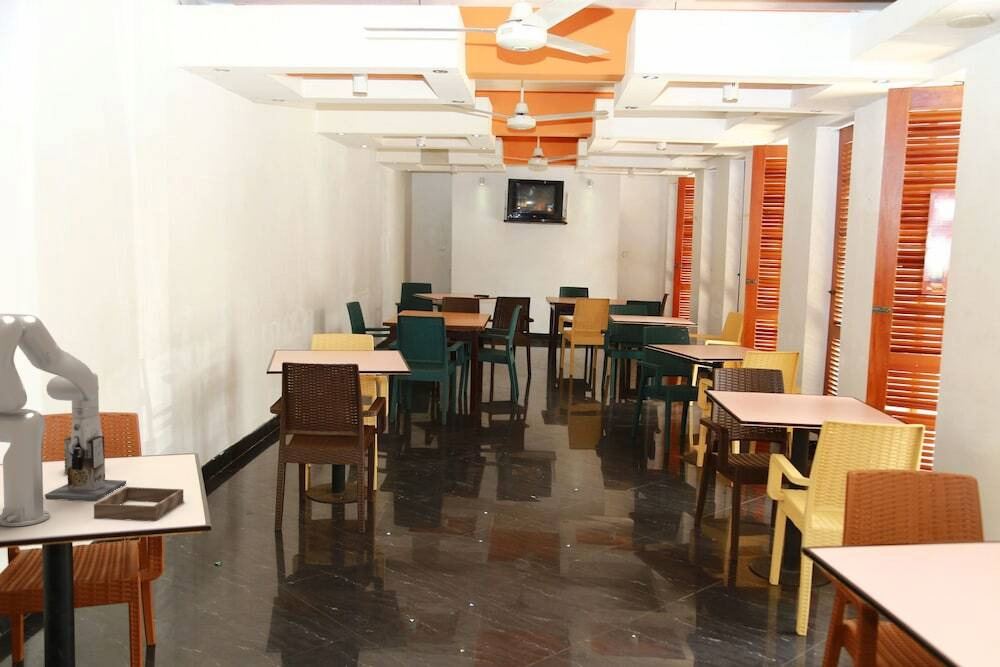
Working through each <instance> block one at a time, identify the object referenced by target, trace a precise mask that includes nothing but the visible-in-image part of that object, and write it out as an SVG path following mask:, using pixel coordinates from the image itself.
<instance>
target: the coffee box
mask: <svg viewBox="0 0 1000 667" xmlns="http://www.w3.org/2000/svg"><path fill="white" fill-rule="evenodd" d="M70 443H71V438H70V439H67V440H66V445H67V457H66V458H67V472H68V476H67V484H68V489H72V490H96V489H99V488H101V487H103V486H105V480H106V464H105V462H106V460H105V458H106V456H105V436H104V435H103V436H98V437H95V438H93V439H91V440H89V441H88V443H89V449H88V450H84V451H83V453H82V456H81V457H83V469H82V470H73V469H72V457H71V454H70V452H69V448H68V445H69V444H70ZM77 447H81V446H80V444H79V442H78V443H77ZM77 452H78V453H79V451H78V450H77Z"/></svg>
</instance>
